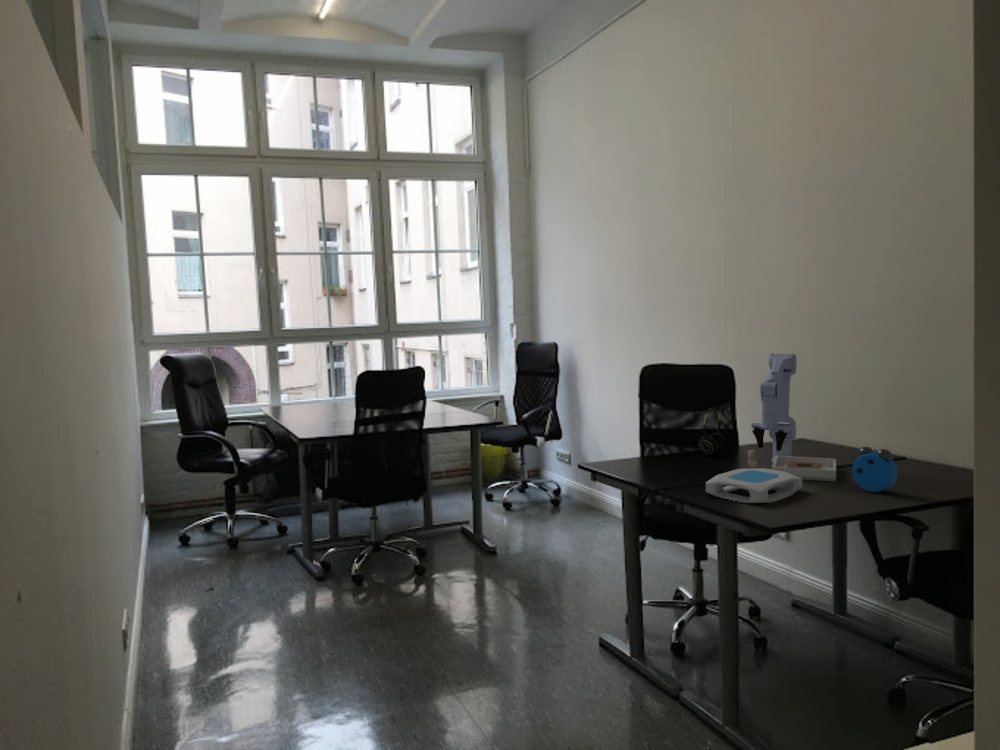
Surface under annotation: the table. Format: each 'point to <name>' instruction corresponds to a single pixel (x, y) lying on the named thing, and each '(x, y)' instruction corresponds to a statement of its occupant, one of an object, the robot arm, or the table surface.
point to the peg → (752, 459)
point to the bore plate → (804, 465)
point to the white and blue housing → (754, 485)
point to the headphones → (712, 438)
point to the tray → (807, 474)
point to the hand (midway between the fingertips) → (769, 449)
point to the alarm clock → (874, 470)
